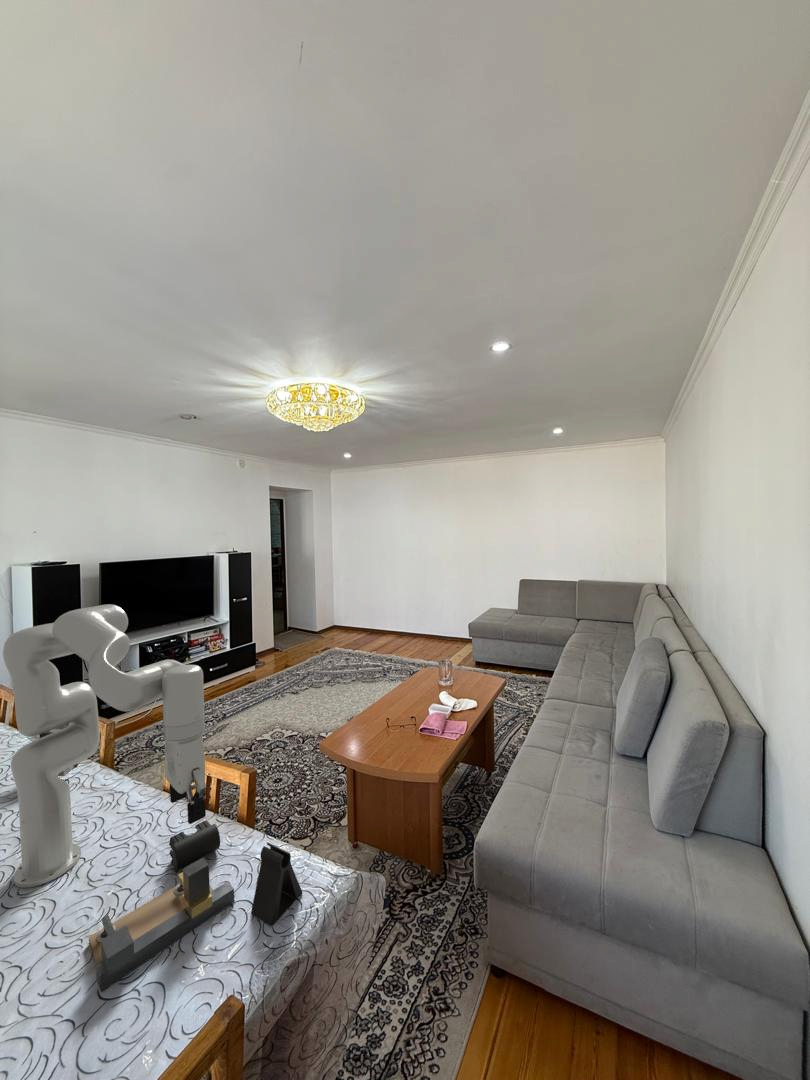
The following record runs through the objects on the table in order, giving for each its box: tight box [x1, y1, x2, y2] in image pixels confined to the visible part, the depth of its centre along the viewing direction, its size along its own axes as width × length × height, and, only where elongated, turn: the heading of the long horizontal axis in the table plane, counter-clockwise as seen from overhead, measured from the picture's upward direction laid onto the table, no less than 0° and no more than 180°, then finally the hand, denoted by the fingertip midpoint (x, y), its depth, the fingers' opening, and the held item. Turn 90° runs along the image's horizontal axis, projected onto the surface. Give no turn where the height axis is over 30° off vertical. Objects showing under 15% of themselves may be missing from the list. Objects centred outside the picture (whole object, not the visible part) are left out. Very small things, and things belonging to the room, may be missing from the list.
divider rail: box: [95, 881, 235, 993], centre depth 86 cm, size 12×24×6 cm, turn 137°
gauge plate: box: [88, 883, 214, 965], centre depth 88 cm, size 8×21×2 cm, turn 137°
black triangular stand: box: [250, 842, 303, 928], centre depth 91 cm, size 9×6×12 cm, turn 149°
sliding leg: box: [177, 857, 212, 918], centre depth 90 cm, size 12×4×9 cm, turn 47°
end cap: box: [168, 819, 221, 873], centre depth 104 cm, size 10×7×7 cm
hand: (187, 809), depth 87 cm, fingers open, 9 cm apart
